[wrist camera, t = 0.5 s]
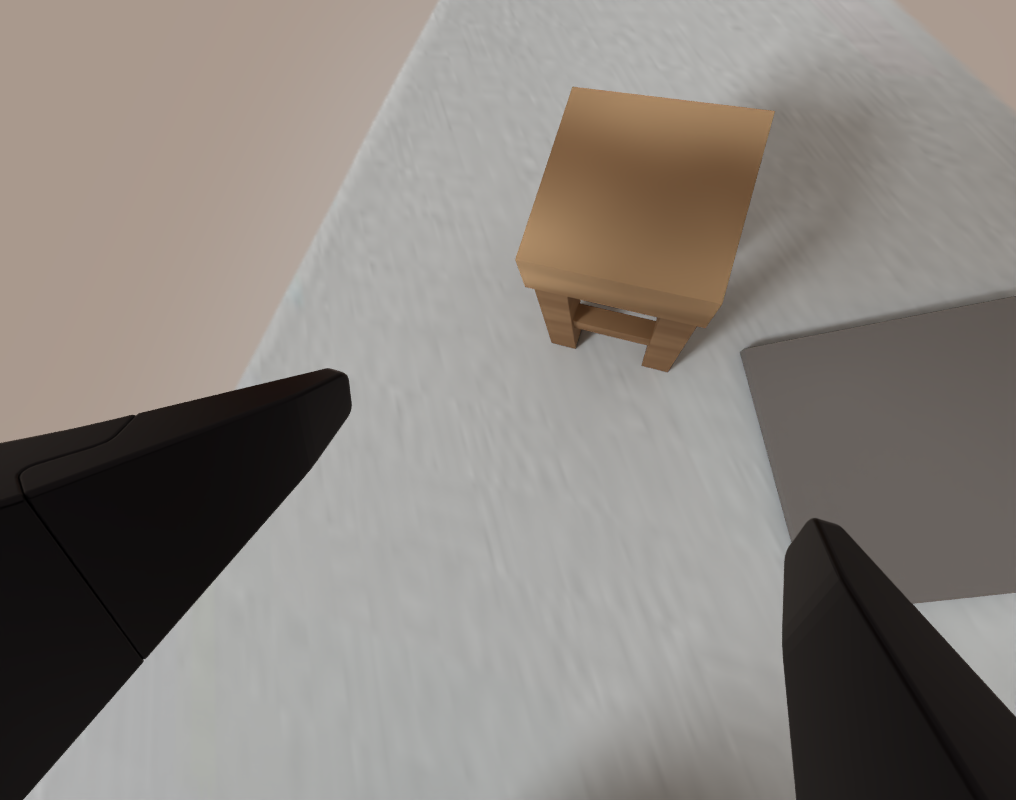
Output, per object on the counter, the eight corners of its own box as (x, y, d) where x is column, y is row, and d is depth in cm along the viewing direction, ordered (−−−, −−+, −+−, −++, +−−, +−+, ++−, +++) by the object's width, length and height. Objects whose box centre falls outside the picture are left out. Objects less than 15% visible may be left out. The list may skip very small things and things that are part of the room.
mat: (1130, 574, 17) (1149, 578, 16) (809, 609, 19) (816, 613, 18) (1017, 299, 19) (1030, 293, 19) (740, 352, 21) (744, 348, 20)
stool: (670, 377, 21) (722, 304, 13) (546, 345, 23) (515, 259, 14) (704, 258, 22) (774, 111, 13) (581, 234, 23) (572, 86, 15)
